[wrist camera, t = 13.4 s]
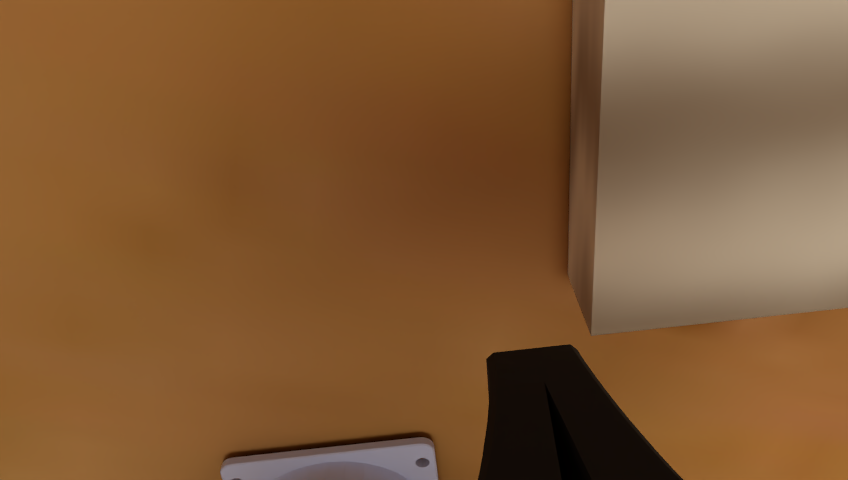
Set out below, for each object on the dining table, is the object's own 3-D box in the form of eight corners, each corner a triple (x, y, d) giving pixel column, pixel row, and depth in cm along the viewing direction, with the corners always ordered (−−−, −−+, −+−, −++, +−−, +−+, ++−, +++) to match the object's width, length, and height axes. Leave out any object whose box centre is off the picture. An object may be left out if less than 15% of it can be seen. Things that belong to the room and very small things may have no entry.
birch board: (875, 241, 23) (936, 297, 21) (568, 275, 23) (590, 335, 21) (1002, -188, 17) (1113, -183, 14) (575, -140, 17) (609, -126, 14)
